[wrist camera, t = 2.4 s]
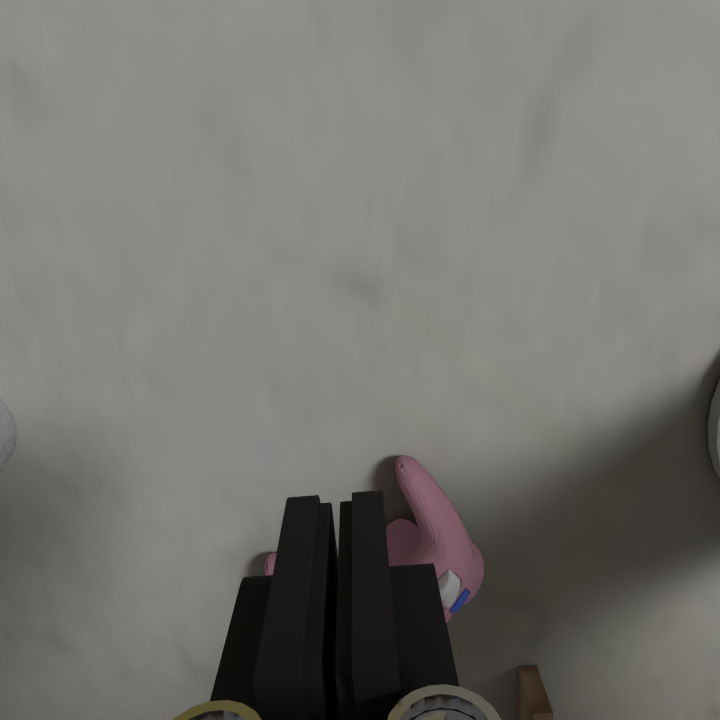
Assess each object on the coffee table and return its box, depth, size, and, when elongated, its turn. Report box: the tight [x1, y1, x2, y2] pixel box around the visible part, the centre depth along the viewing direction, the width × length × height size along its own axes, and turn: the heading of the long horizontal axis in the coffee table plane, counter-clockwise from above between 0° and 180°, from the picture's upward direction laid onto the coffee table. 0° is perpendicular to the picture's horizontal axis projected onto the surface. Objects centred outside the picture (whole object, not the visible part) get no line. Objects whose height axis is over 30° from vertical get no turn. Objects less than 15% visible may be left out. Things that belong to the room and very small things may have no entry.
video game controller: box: [264, 456, 484, 624], centre depth 29 cm, size 10×5×7 cm, turn 130°
